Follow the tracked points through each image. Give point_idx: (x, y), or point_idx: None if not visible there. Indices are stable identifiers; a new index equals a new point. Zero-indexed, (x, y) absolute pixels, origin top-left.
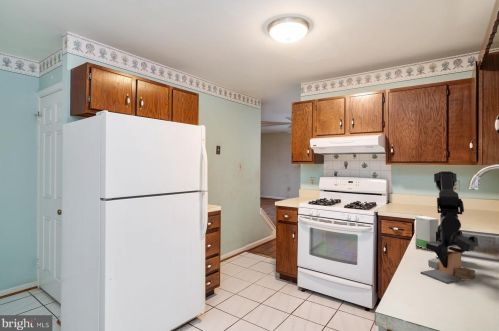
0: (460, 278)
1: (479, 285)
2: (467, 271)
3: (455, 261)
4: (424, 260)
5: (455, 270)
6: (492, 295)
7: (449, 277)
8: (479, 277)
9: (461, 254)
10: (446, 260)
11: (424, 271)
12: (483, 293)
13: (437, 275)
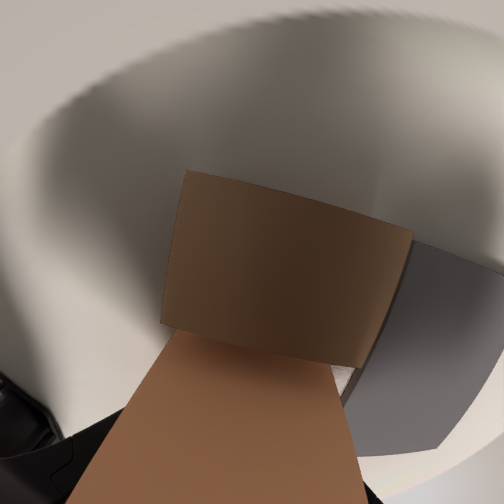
0: (421, 255)
1: (403, 94)
2: (348, 227)
3: (275, 462)
4: None
5: (279, 369)
6: (480, 35)
7: (452, 324)
8: (147, 163)
9: (21, 456)
10: (369, 498)
11: (419, 448)
12: (500, 74)
13: (455, 384)
